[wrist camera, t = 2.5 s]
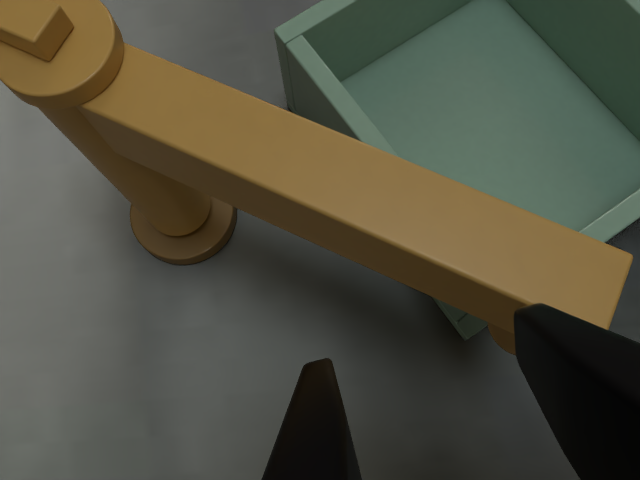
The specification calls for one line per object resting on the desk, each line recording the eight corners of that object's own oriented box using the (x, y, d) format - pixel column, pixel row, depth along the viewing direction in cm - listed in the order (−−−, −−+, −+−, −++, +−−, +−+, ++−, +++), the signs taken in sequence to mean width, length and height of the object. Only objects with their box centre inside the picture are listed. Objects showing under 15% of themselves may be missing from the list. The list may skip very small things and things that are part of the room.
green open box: (687, 183, 23) (777, 119, 18) (464, 341, 21) (499, 318, 17) (492, -21, 26) (525, -121, 21) (286, 105, 24) (273, 28, 20)
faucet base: (256, 227, 23) (253, 221, 22) (167, 285, 22) (161, 280, 22) (204, 151, 24) (199, 142, 23) (118, 204, 23) (110, 196, 23)
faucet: (86, 201, 22) (-135, 13, 12) (123, 143, 23) (-56, -83, 13) (490, 393, 20) (650, 362, 9) (519, 321, 20) (698, 217, 10)
